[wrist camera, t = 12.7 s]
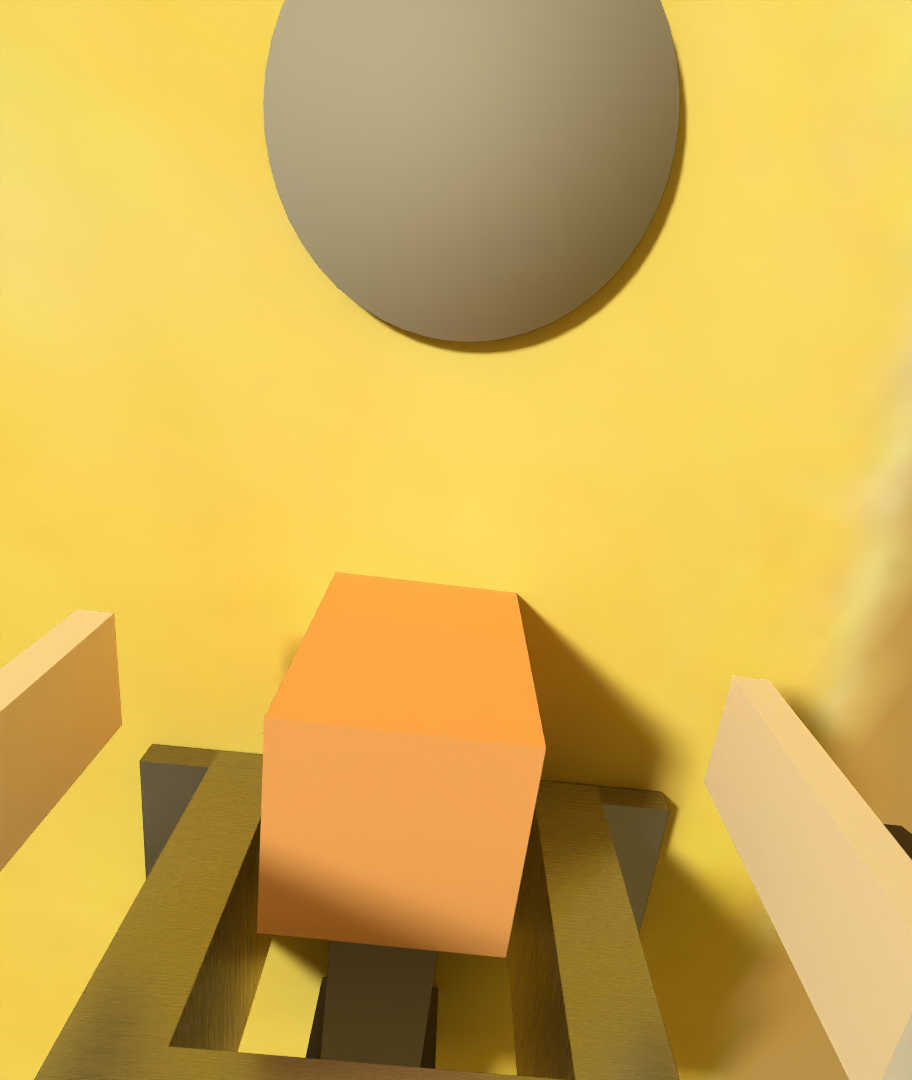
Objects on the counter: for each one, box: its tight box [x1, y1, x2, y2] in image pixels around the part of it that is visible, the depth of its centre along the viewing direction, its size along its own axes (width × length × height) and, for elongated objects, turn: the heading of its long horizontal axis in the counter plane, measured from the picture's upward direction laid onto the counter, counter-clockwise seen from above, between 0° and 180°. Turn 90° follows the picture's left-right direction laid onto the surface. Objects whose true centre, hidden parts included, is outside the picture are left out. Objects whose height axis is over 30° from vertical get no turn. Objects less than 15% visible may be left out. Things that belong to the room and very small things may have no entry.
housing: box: [34, 744, 680, 1080], centre depth 17 cm, size 16×6×10 cm, turn 84°
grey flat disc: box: [263, 0, 680, 342], centre depth 15 cm, size 9×9×1 cm
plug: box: [257, 572, 546, 1069], centre depth 18 cm, size 5×18×7 cm, turn 173°
